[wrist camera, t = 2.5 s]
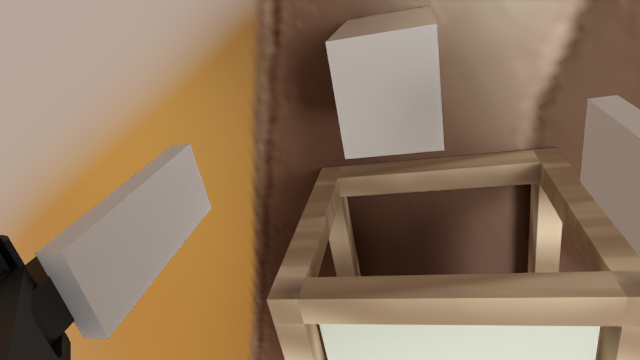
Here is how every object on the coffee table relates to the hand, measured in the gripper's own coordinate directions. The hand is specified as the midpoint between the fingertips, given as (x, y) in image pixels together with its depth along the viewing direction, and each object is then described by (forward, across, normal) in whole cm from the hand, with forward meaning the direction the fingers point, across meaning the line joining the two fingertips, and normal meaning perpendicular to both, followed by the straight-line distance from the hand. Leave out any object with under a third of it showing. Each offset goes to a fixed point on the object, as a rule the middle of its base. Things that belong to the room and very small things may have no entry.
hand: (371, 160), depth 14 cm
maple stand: (+15, +2, -15) cm, 21 cm away
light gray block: (+15, 0, 0) cm, 15 cm away
